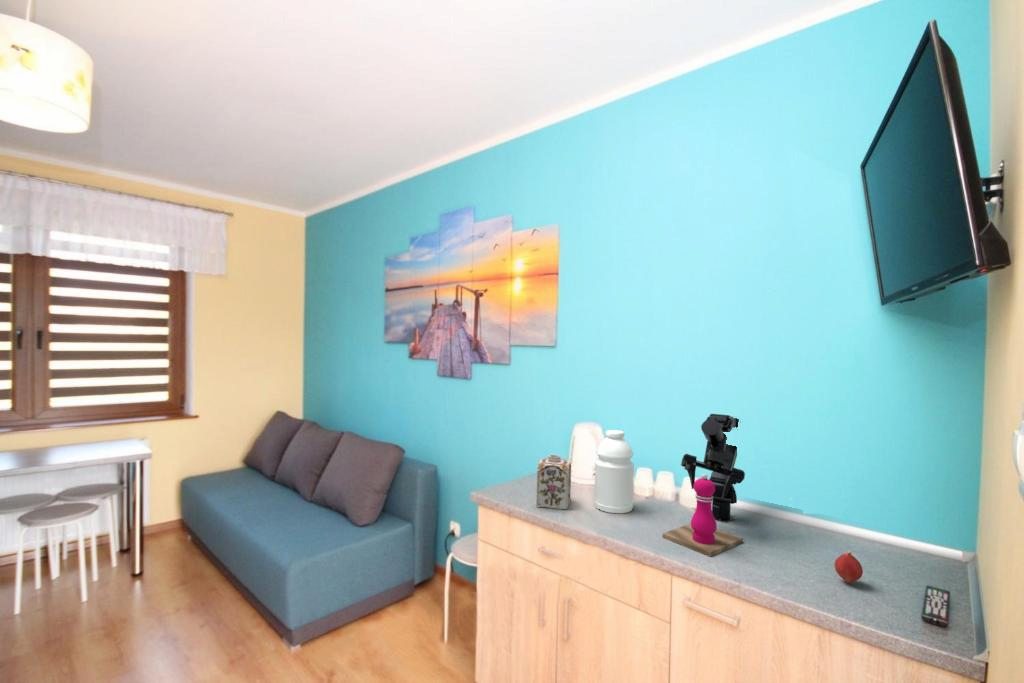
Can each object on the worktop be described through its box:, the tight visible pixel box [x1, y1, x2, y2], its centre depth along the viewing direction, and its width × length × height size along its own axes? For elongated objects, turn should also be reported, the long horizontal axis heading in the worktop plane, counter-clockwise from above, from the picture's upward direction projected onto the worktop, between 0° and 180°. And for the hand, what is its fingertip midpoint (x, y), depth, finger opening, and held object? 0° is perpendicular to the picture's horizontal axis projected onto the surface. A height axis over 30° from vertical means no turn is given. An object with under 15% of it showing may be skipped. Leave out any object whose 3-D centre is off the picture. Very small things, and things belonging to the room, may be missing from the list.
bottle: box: [594, 429, 635, 514], centre depth 170 cm, size 14×14×28 cm
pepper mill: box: [690, 473, 718, 544], centre depth 139 cm, size 7×7×20 cm
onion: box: [834, 551, 864, 584], centre depth 118 cm, size 6×6×8 cm
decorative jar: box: [536, 454, 572, 510], centre depth 173 cm, size 12×12×18 cm
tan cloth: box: [662, 523, 744, 558], centre depth 143 cm, size 18×16×1 cm
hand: (707, 493), depth 148 cm, fingers open, 9 cm apart
